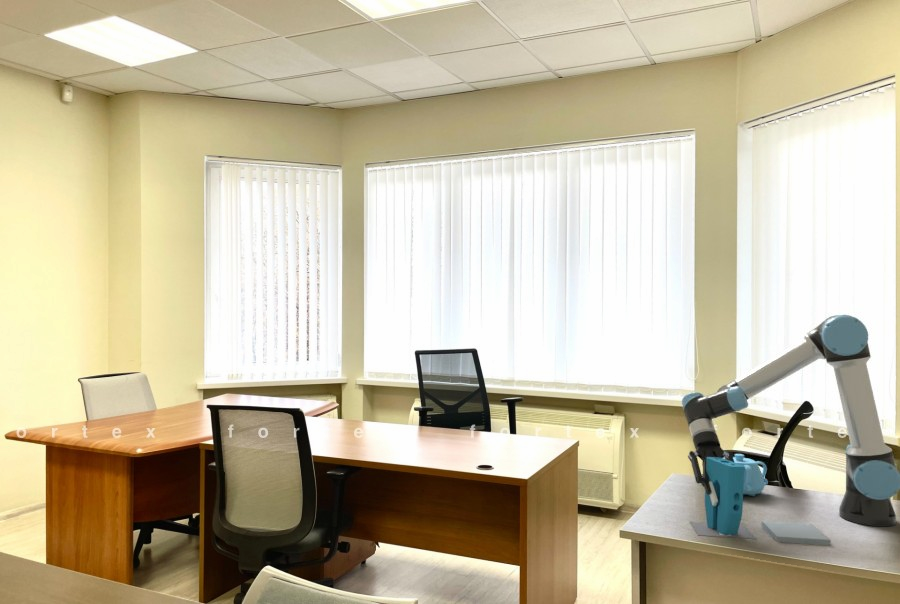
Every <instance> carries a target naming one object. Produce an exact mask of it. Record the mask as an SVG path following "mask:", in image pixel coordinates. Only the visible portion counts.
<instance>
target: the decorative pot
mask: <svg viewBox="0 0 900 604" xmlns="http://www.w3.org/2000/svg"><path fill="white" fill-rule="evenodd" d="M723 458H724V459H725V457H723ZM733 459H734V462H735V463H737V464H740V465H743V466H744V485H743V495H748V496H749V497H750V496H751V497H756V495H759V494H761V493H762V492H763V490H764V489H765V487H766V486H767V485H768V483H769V482H768V481H769V480H768V479H767V478H766V477H765V476H766V474H767V471H768V468H767V467H768V466H767V465H766V464H765V462H763V461H759V460H757V461H755V460H754V459H751V458H748V457H747V458H746V457H745V455H744V454H742V453H733ZM759 465H761V466H762V470H761V468H760V466H759Z"/></svg>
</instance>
